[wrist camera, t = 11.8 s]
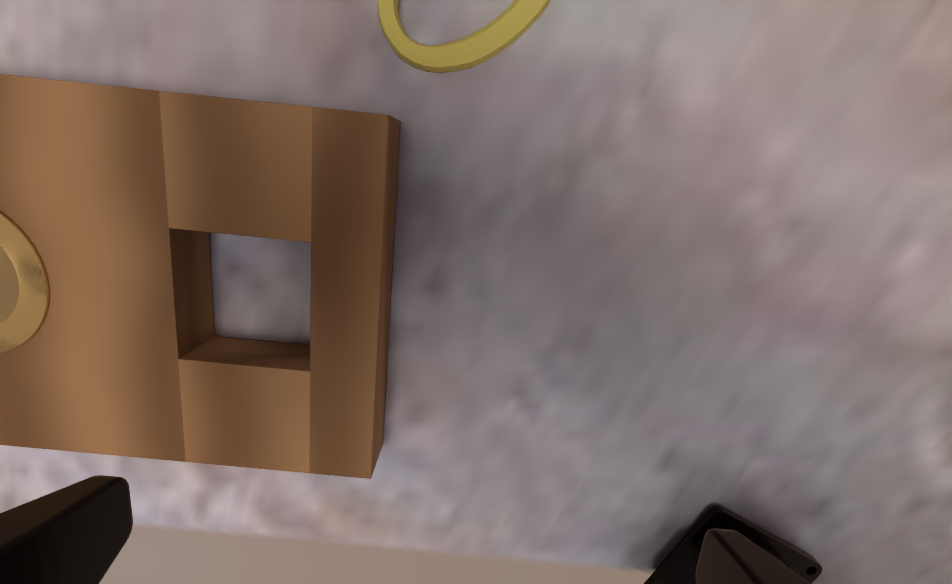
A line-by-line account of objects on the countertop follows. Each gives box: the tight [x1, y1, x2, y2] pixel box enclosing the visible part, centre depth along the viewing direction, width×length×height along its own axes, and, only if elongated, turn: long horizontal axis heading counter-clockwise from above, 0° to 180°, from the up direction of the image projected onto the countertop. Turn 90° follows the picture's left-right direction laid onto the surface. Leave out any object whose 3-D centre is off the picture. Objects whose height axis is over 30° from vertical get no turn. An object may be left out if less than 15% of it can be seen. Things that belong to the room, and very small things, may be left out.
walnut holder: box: [0, 74, 401, 479], centre depth 18 cm, size 20×14×2 cm
